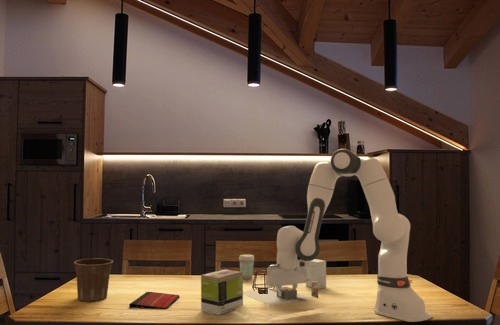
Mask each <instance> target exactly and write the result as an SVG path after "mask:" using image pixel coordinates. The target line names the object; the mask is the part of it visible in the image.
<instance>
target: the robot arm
mask: <svg viewBox="0 0 500 325" xmlns="http://www.w3.org/2000/svg"><path fill="white" fill-rule="evenodd" d="M354 176H356V178H358V180H359V182H360V185H361V187H362V190H363V193H364V195H365V199H366V201H367V204H368V207H369V212H370V216H371V217H370V218H371V222H372V233H373V235H374V236H375V238H376V239H377V240H378V241H380V242H381V243H380V249H379V253H378V256H377V257H378V260H377V261H378V263H377V264H378V269H377V270H378V273H377V275H376V276H377V278H376V279H377V280H376V283H377V292H376V298H375V300H376V301H375V305H374V308H373V309H374V314H375V315H380V316H384V317H388V318H392V319H397V320H400V321H405V322H408V323H411V322H412V323H415V322H423V321H427V320H430V319H432V318H433V317H432V313H430V312H428V311H426V305H425V304H426V303H425V301H424V299H423V298H422V297H421V296H420V295H419V294H418V293H417V291H415V290H414V289H413V288H412V286H411V284H412V283H414V282H413V279H409V277H408V275H407V272H408V269H407V267H408V266H407V265H408V263H407V262H408V261H407V260H408V259H407V258H408V249H409V242H410V231H411V223H410V221H409V219H408V218H407V217H406V216H405V215H404V214H401V213H399V212H398V209H397V204H396V203H397V202H396V196H395V193H394V190H393V188H392V184H391V183H390V181H389V178H388V175H387V173H386V172H385V169H384V167H383V166H382V164H381V162H380V161H379V160H378V159H377V158H374V157H366V158H364V159H363V158H360V157H359V156H358V155H357V154H356V153H355V152H354V151H352V150H350V149H347V148H340V149H337V150H336V151H334V152H333V154H332V155H331V158H330V161H329V162H327V161H320V162H318V163H316V164H315V166H314V168H313V171H312V173H311V176H310V179H309V182H308V185H307V186H308V187H307V193H306V201H307V202H306V203H307V216H306V221H305V225H304V229H303V230H301V229H299V228H298V227H296V226H295V225H286V226H282V227H280V228H279V230H278V231H277V236H276V248H277V249H276V250H277V253H276V264H270V265H269V266H267V268H266V278H265V285H266V287H267V288H272V287H276V289H277V291H278V296H280V297H281V296H283V292H282V291H281V287H286V286H292V287H291V288H292V289H295V290H297V288H298V284H299V285H300V284H306V281H307V269H306V261H312V260H314V259H317V257H318V256H319V254H320V248H321V247H320V242H319V235H320V230H321V227H322V226H321V225H322V223H323V222H322V221H323V218H324V215H325V212H326V211H327V208H328V207H329V206H330V203H331V199H332V198H333V195H334V191H335V186H336V182H337V180H338V179H339V178H340V179H341V178H352V177H354ZM298 258H299V259H298Z"/></svg>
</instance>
